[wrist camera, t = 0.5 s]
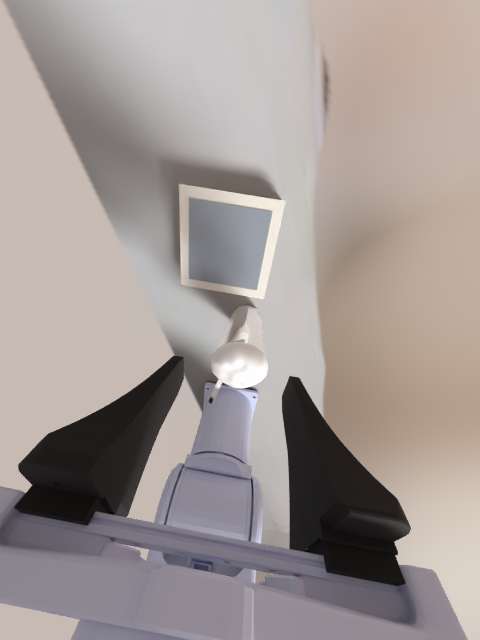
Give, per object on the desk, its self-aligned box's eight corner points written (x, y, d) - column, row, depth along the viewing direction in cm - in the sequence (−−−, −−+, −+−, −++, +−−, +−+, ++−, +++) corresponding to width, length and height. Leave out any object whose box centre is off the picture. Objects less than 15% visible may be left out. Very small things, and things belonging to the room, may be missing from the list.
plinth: (263, 289, 20) (263, 299, 18) (189, 276, 21) (180, 285, 18) (282, 201, 16) (285, 200, 14) (189, 186, 16) (178, 183, 14)
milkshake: (214, 320, 23) (186, 387, 14) (246, 290, 21) (234, 350, 12) (241, 342, 24) (230, 417, 16) (274, 317, 22) (281, 389, 13)
